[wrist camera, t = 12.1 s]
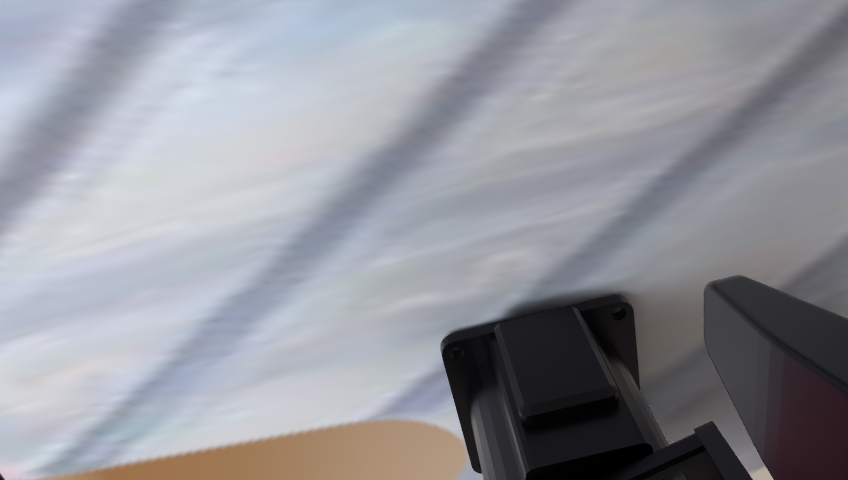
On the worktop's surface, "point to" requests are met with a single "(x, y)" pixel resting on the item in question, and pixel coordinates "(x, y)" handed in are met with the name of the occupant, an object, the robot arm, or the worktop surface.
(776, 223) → the worktop surface
